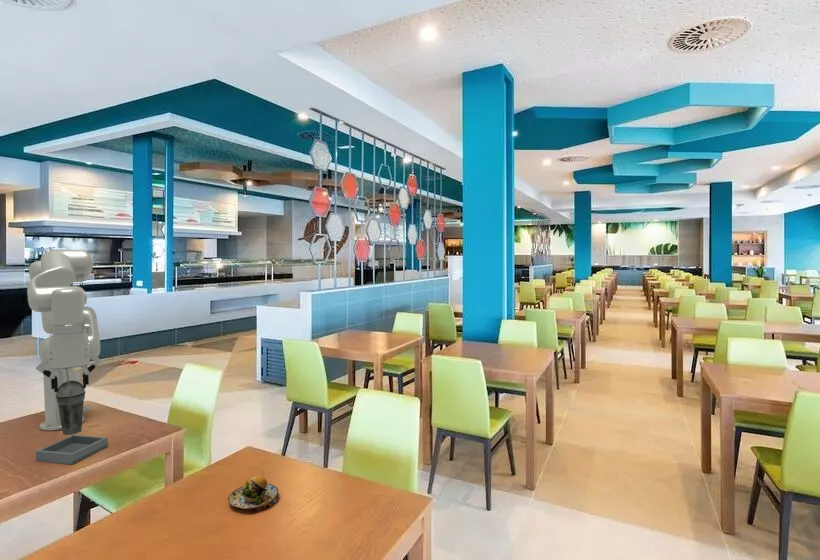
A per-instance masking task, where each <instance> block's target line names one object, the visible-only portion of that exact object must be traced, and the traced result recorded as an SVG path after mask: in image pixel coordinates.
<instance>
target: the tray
mask: <svg viewBox="0 0 820 560" xmlns="http://www.w3.org/2000/svg"><path fill="white" fill-rule="evenodd" d="M108 447H109V439H108V437H106V436H94V435H80V434H72V435H68V436H67V437H65V438H63V439H61V440H59V441H56V442H54V443H52V444H49V445H47V446H45V447H42V448H40V449H37V450H35V453H34V454H35V462H39V463H40V462H41V463H50V464H61V465H62V464H63V465H71V466H72V465H75V464H77V463H79V462H81V461H83V460H85V459H87V458H89V457H90V456H92V455H95V454H96V453H98V452H100V451H102V450H105V449H106V448H108Z"/></svg>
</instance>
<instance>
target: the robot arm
mask: <svg viewBox="0 0 820 560" xmlns="http://www.w3.org/2000/svg"><path fill="white" fill-rule="evenodd" d="M93 260H94V259H93V258H92V254H90V252H88V251H86V250H83V249H52V250H48V251H46V252H44V253H43V254H42V256H41V257H40V260H37V261H33V262H32V263H31V264H30V265H29V268H28V274H29V279H30V280H29V283H28V285H27V289H26V294H27V302H28V306H29V309H31V311H33V312H34V313H35V312H36V313H40V314H41V324H42V328H43V330H44V332H45V333H46V334H49V337H45V339H42V340H41V341H40V342H39V345H38V353H39V359H40V363H38V364H37V365H36V368H35V369H36V370H37V371H38V372H40V373H41V374H42V376H43V377H42V378H43V379H42V380H43V395H44V397H43V398H44V400H43V401H44V421H43V422H41V423H40V424H39V429H41V430H42V431H58V430H59V431H60V430H62V426H61V419H60V413H59V406H58V403H57V398H56V393H57V392H58V388H59V387H60V386H61V385H62V384H63V383H65V382H67V376H66V368H68V375H69V381H77V382H79V380H78V371H76V369H75V368H81V370H82V372H83V373H82V385H83V388H84V389H87V386H88V385H90V383H89V382H90V381H89V378H90V377H89V375H90V373H91V372H93V370H94V369H96V367H97V366H98V365H99V364H100V363H101V362H102V360H101V359H100V358H99V356H100V354H101V339H100V332H99V325H98V324H99V323H98V317H97V313H96V311H95V310H94V308H92V307H90V306H85V305H86V304H87V302H88V295H87V294H88V293H87V292H86V290H84V288H82V286H77V285H75V286H73V284H74V283H83V282H86V281H87V280H88V279H89V277H90V275H91V274H92V271H93V267H94V263H93V262H94V261H93ZM91 360H92V361H93V363H91V364H90V362H91ZM89 364H90V366H88V365H89ZM90 410H91V406H90V405H83V413H85V412H88V411H90ZM84 421H85V416H84V415H83V418H82V423H84Z"/></svg>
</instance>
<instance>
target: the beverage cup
mask: <svg viewBox="0 0 820 560" xmlns="http://www.w3.org/2000/svg"><path fill="white" fill-rule="evenodd" d="M66 376H67V382H65V383H63V384H62V385H61V386H60V387H59V388H58V392H57V393H56V398H57V403H58V406H59V413H60V419H61V426H62V429H61V430H62V435H64V436H72V435H77V434H79V433H80V432H82V429H83V428H82V427H83V422H82V418H83V416H84V412H83V407H84V402H85V397H86V390H85V389H86V388H83V383H81V382H80V381H78V382H77V381H69V375H68V368H66Z"/></svg>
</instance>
